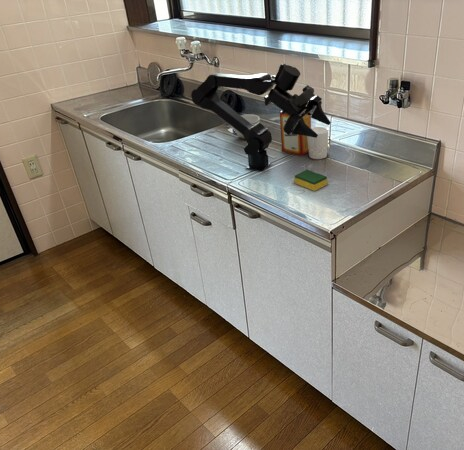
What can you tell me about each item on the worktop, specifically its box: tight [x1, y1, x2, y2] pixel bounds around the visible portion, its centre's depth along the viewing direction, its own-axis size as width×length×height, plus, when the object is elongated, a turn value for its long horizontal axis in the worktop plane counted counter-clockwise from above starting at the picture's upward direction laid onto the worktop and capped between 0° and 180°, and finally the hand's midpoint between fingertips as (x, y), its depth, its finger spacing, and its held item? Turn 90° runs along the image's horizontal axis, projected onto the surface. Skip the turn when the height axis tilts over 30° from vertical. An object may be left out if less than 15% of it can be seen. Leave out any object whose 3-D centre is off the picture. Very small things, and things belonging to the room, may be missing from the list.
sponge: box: [294, 169, 328, 192], centre depth 156 cm, size 9×6×3 cm, turn 44°
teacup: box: [228, 113, 261, 140], centre depth 198 cm, size 14×11×8 cm
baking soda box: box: [279, 110, 312, 157], centre depth 179 cm, size 10×6×16 cm
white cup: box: [307, 126, 329, 160], centre depth 174 cm, size 8×8×10 cm
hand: (323, 130), depth 152 cm, fingers open, 9 cm apart
